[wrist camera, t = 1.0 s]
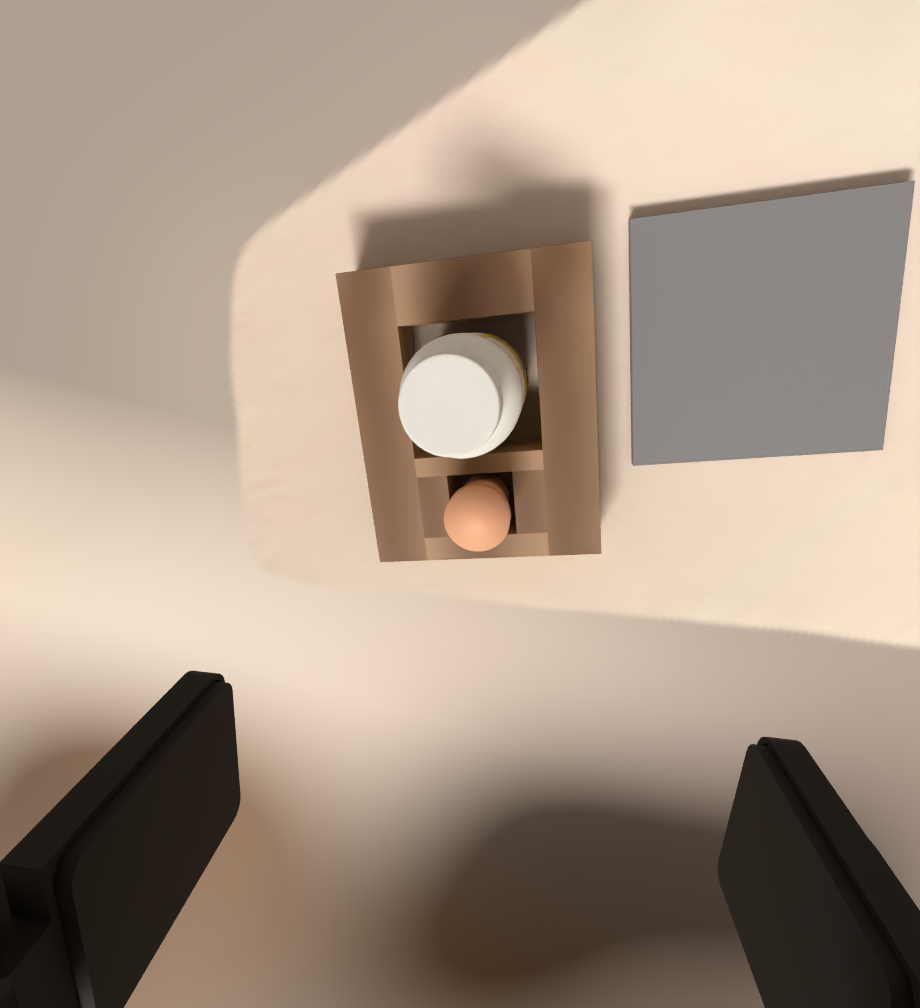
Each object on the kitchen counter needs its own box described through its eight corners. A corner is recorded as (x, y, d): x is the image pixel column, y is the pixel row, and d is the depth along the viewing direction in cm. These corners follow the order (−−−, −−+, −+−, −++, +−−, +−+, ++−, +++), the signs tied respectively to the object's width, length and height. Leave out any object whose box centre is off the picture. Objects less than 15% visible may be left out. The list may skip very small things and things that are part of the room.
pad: (906, 183, 25) (914, 180, 24) (875, 447, 28) (882, 449, 28) (628, 221, 27) (630, 218, 26) (631, 463, 30) (633, 465, 30)
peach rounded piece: (511, 466, 30) (507, 486, 26) (516, 523, 31) (512, 550, 27) (453, 470, 30) (440, 490, 27) (459, 525, 31) (447, 552, 27)
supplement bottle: (535, 339, 29) (531, 344, 20) (519, 439, 31) (508, 485, 22) (435, 325, 30) (387, 324, 21) (424, 424, 31) (375, 463, 22)
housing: (587, 249, 27) (591, 240, 25) (596, 533, 32) (601, 553, 29) (355, 278, 30) (335, 273, 27) (394, 542, 34) (380, 561, 31)
